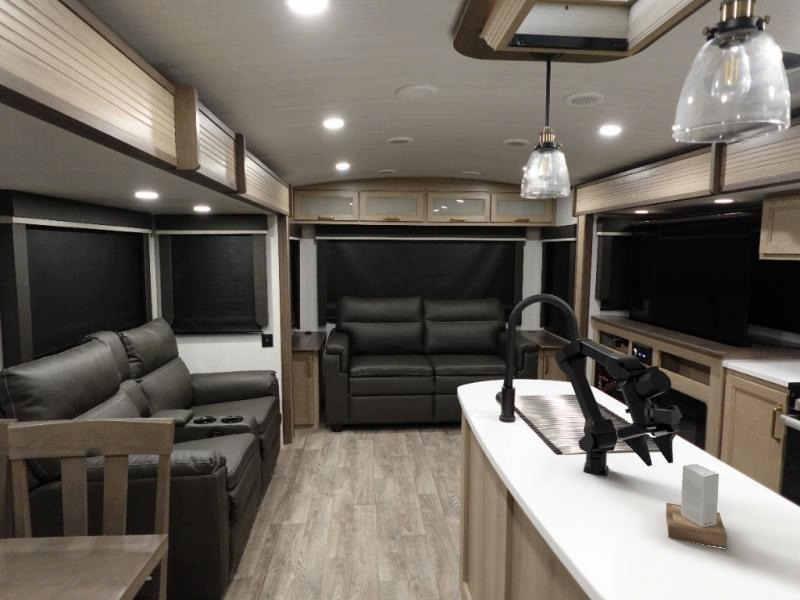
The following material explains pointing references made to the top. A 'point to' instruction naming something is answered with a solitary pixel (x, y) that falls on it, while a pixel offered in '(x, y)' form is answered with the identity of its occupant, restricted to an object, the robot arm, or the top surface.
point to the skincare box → (699, 495)
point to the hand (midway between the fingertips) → (660, 464)
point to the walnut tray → (694, 529)
